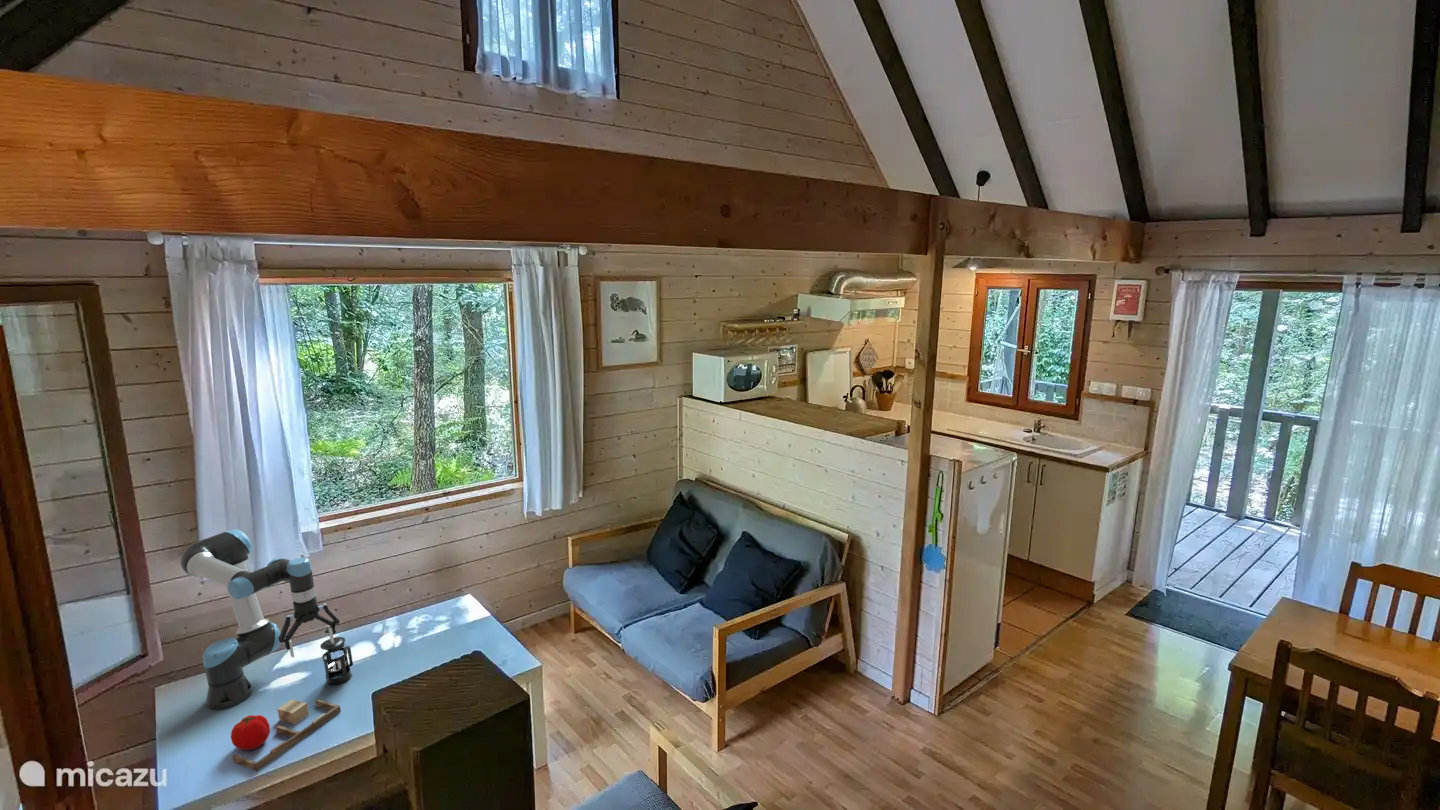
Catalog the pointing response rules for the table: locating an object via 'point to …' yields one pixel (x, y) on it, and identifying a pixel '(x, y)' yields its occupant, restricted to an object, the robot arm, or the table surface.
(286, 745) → the rack
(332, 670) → the french press
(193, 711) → the table surface
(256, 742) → the tomato
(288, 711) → the light wooden block
